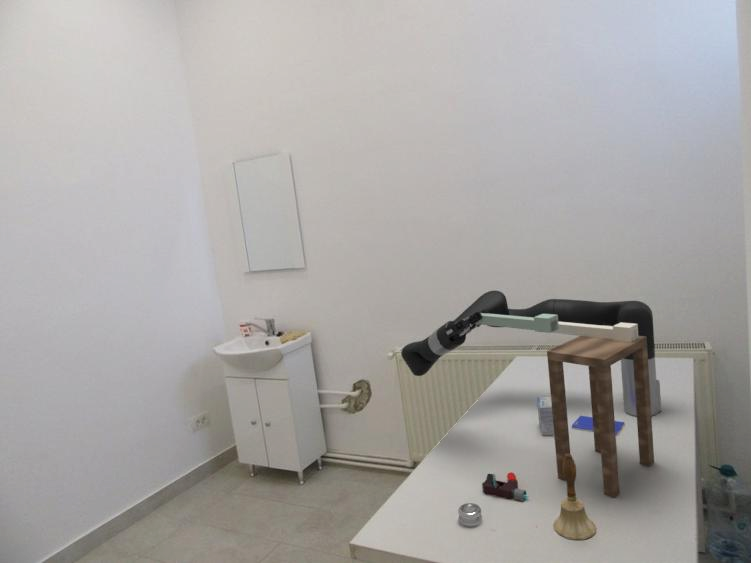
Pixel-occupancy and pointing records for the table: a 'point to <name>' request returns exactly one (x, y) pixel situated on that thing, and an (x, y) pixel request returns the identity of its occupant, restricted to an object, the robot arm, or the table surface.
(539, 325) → the sage stick
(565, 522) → the hand bell
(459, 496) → the table surface
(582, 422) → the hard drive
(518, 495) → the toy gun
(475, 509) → the metal grooved wheel
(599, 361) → the walnut stand
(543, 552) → the table surface
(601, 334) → the cream stick
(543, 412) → the medicine box
